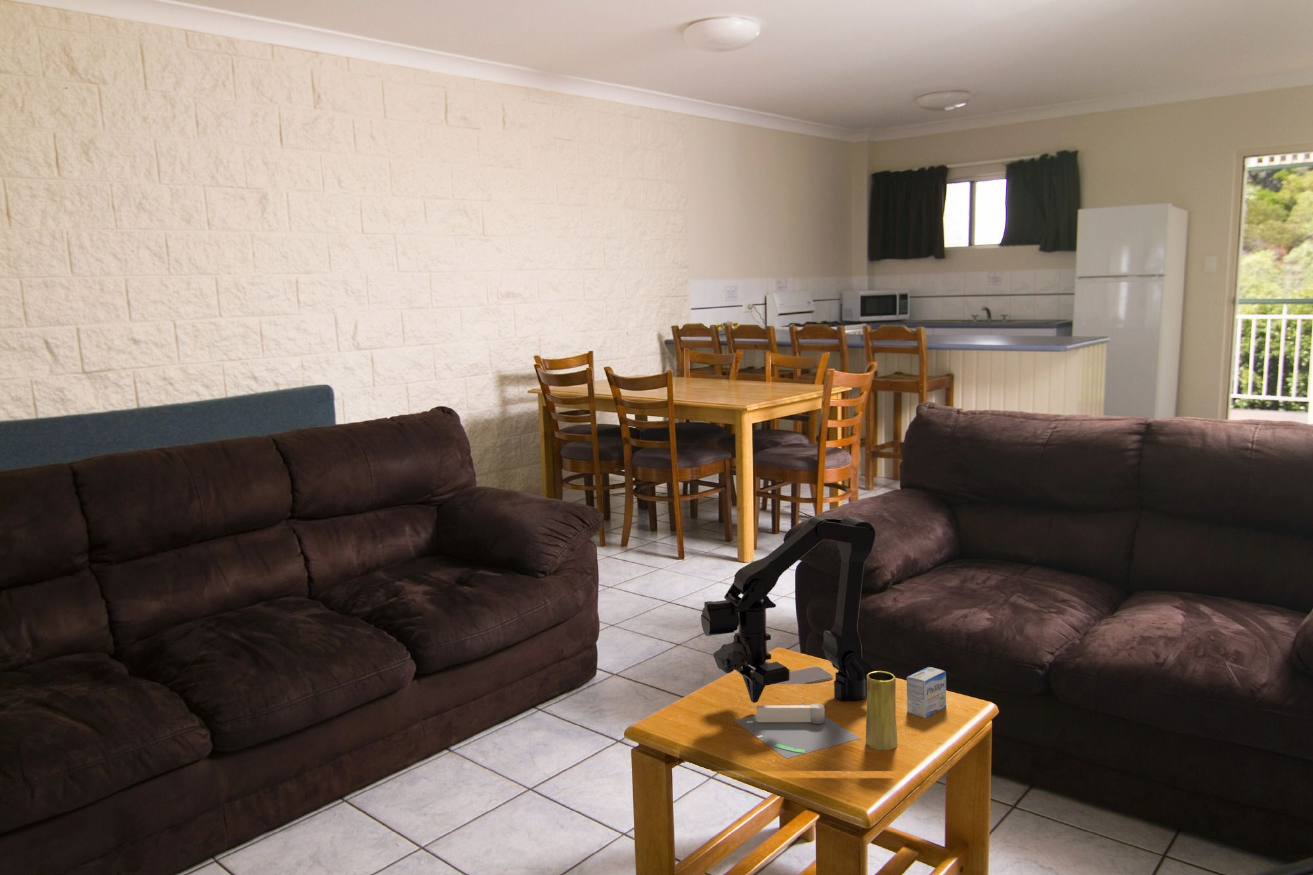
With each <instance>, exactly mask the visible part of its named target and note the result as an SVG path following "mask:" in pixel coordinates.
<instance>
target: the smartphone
mask: <svg viewBox="0 0 1313 875" xmlns="http://www.w3.org/2000/svg"><path fill="white" fill-rule="evenodd" d="M833 679H834V676H833V674H832V673H831V672H829V671H827V670H826V669H824V668H822V667H821V666H818V665H817V666H810V667H804V668H801V669H796V670H795V669H794V670H792V671H791V670H790V680H789V681H785V682H780V683H776V684H775V685H811V684H815V683H820V682H825V681H826V682H827V681H831V680H833Z"/></svg>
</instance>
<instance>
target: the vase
mask: <svg viewBox="0 0 1313 875" xmlns="http://www.w3.org/2000/svg"><path fill="white" fill-rule="evenodd" d="M896 690H897V689H896V676H895V675H894V674H893V673H891V672H889V671H883V670H876V671H875V670H873V672H870V673H868V674H867V697H866V719H865V720H866V722H865V744H866V745H867V746H868V747H869V748H870V749H874V750H877V751H889V750H890V751H893V749H897V746H898V745H899V744H898V732H897V730H898V729H897V728H898V727H897V718H896V711H897V709H896V708H897V707H896V706H897V704H896V702H897V701H896V697H897V696H896V694H897V693H896Z"/></svg>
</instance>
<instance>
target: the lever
mask: <svg viewBox="0 0 1313 875" xmlns="http://www.w3.org/2000/svg"><path fill="white" fill-rule="evenodd" d="M825 710H826V709H825V705H824V704H821V703H811V704H808V705H807V704H806V705H799V704H797V705H787V704H785V705H779V704H778V705H773V704H772V705H770V704H769V705H756V715H757V722H811V723H814V724H822V723H824V722H825V717H826V714H825Z"/></svg>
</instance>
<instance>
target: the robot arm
mask: <svg viewBox="0 0 1313 875" xmlns="http://www.w3.org/2000/svg"><path fill="white" fill-rule="evenodd" d="M876 535H877V533H876V529H875V528H874V526H873V525H872V524H871V523H870V522H867V521H865V520H863V519H860V518H857V517H854V516H851V515H849V516H846V517H844V518H843V519H840V518H827V517H826V518H822V517H820V516H819V517H818V516H815V517H812V518H810V519H809V520H808V521H807V523H805V525H804V526H802V527H801V528H800V529H798V530H797V531H796V532H795V533H794V534H793V535H791V536H790V537H789V538H788V539H786V541H783V543H781V544H780V545H779V546H778V547H776V548H775V549H774V550H772V552H771V553H769V554H768V555H766V556H764V557H763V558H760V559H757V560H753V561H751V562H750V563H748V564H747V565H745V566H743V567H741V568H740V569H738V570H737V571H736V573H735V574H734V578H733V583H732V584H731V585H730V587H729V588H728V590H727V592H726V594H725V595H724V597H723V598H724V599H725V600H717V601H713V600H711V601H709V600H708V601H704V603H703V605H704V607H703V608H702V611H701V614H700V623H701V627H702V631H703V633H704V635H705V636H706V637H711V636H718V635H727V634H734V635H733V640H732V642H729V643H725V644H724V643H723V644H722V646H721V647H720V648H719V649H718V650H716V651H714V652H713V654H712V656H713V658H714V662H715V665H716V666H717V668H718V669H719V670H721V671H723V672H724V673H725V674H730V673H732V672H733V671H736V672H737V673H738V674H740V675H741V677H742V678H743V682H744V684H745V687H746V690H747V692H748V693H747V694H748V696H749V699H750V701H751V703H753V704H755V703H756V704H757V702H759V700H760V698H761V696H762V693H763V692H764V689H765V687H766V686H770V685H771V686H772V685H777V684H776V683H780V682H785V681H789V680H790V672H791V670H790V669H789V668H788V667H787V666H785V665H784V664H782V663H780V662H778V661H773V662H769V661H768V660H772V654H771V652H768V641H771V640H772V635H771V634H769V633H768V632H767V609H775V608H777V604H776V603H774V602H773V601H772V600H771V598H770V597H769V596H768V594H770V592H771V591H772V590H773V589H774V588H775V587H776V585H777V582H778V580H779V578H780V577H781V576H782V575H783V574H784V572H786V571H787V570H788V569H790V568H791V567H793V565H794V564H796V563H797V562H798V561H800V560H801V559H802V558H803V557H805V556H806V555H807V553H809V552H810V551H812V549H814V548H815V547H816V546H818V545H819V544H820V543H821V542H823V541H824V540H831V541H832V540H833V541H836V543H837V547H838V551H839V555H840V558H841V560H840V561H841V563H840V568H839V570H840V571H839V580H838V590H837V591H838V592H837V600H836V606H835V607H836V609H835V617H834V618H835V619H834V624H833V626H832V627H831V629H830V630H824V631H823V643H822V645H821V649H822V650H823V654H824V657H825V659H827V661H829V662H830V663H831V666H832V667H833V669H836V671H837V672H835V674H834V675H835V680H834V681H833V686H834V687H833V688H834V689H833V690H834V691H833V693H834V694H833V696H834V697H833V698H834V699H836V700H837V701H839V702H842V703H844V702H845V703H847V702H854V703H855V702H861V701H863V700H865V699H866V698H867V674H868V673H870V672H874V668H873V666H871V665H870V664H869V663H868V662H867V661H865V660H864V659H863V647H862V641H861V636H860V633H859V630H858V625H859V617H860V607H861V606H860V605H861V598H862V587H863V578H864V569H865V563H866V561H867V559H868V558H869V556H870V555H871V553H872V551H873V548H874V544H875V540H876V537H877V536H876ZM740 595H742V597H741V596H740ZM735 631H738V632H735Z"/></svg>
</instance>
